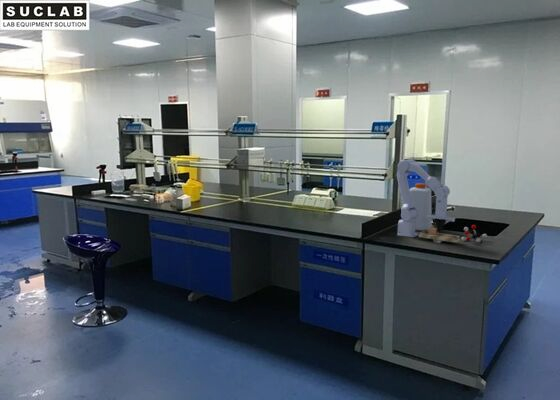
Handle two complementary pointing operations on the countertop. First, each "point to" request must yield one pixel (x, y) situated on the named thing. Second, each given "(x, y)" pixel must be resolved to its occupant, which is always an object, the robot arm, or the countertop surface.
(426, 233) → the wooden tray
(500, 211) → the countertop surface
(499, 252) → the countertop surface
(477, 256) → the countertop surface
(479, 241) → the molecular model
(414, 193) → the plastic bottle
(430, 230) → the pink cube
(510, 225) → the countertop surface
